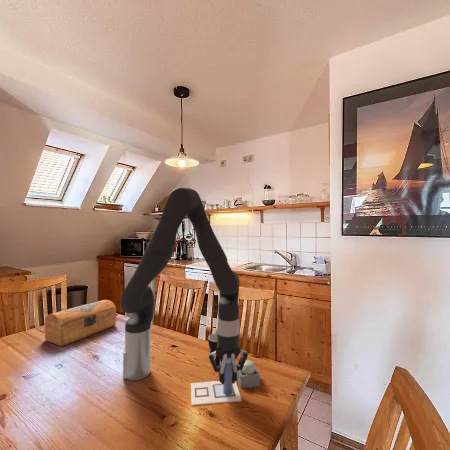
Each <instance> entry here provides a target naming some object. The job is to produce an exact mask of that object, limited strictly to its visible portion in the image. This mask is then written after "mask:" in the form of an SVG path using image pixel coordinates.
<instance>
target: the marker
mask: <svg viewBox="0 0 450 450" xmlns="http://www.w3.org/2000/svg"><path fill="white" fill-rule="evenodd" d="M223 393H224V394H225V395H231V394H232V393H233V365H232V358H231V357H230V358H227V359H226V363H225V367H224V384H223Z"/></svg>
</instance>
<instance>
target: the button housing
mask: <svg viewBox="0 0 450 450" xmlns="http://www.w3.org/2000/svg"><path fill="white" fill-rule="evenodd" d="M237 382H238V384H239V388H240V389H245V388H258V387H260V386H261V374H260V373H259V370H258V367H257V366H256V364H255V363H254V374H250V375H242V370H238V371H237Z"/></svg>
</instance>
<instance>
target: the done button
mask: <svg viewBox="0 0 450 450" xmlns="http://www.w3.org/2000/svg"><path fill="white" fill-rule="evenodd" d="M254 364H255V362H254V361H253V360H249V359H246V361H245V364H244V366H243V369H242V375H250V374H254Z"/></svg>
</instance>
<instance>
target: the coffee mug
mask: <svg viewBox="0 0 450 450" xmlns="http://www.w3.org/2000/svg"><path fill="white" fill-rule="evenodd" d="M207 340H208V341H207V343H208V350H209V351H208V353H209V352H211V353H212V352H214V351H216V348H217V332H214V333H211V334H209V335H208V338H207ZM215 362H216V364H217V365H218V366H219V365H220V358H219V357H218V356H217V355H216V359H215Z"/></svg>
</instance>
